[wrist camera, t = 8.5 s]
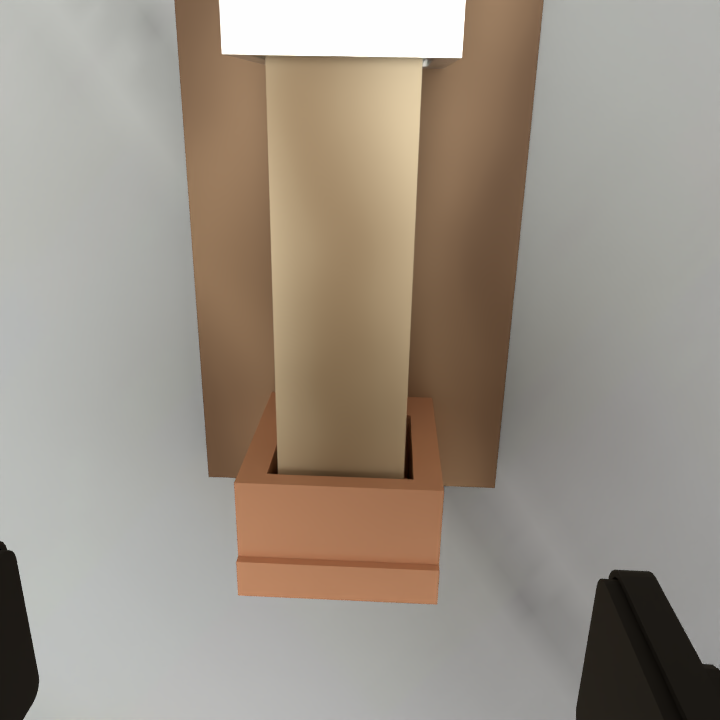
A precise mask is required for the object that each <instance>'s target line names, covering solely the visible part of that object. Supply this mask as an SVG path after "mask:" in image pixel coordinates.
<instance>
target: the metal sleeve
mask: <svg viewBox="0 0 720 720" xmlns="http://www.w3.org/2000/svg"><path fill="white" fill-rule="evenodd" d="M219 7H220V26H221V46H222V54H224V55H228V56H232V57H236V58H240V59H243V60H247V61H251V62H255V63H259V64H263V65H265V56H293V57H358V58H422V59H423V63H422V69H444V68H445V67H447V66H449V65H450V64H452V63H454V62H455V61H457V60H459V59H460V58H462V46H463V30H464V15H465V0H219Z"/></svg>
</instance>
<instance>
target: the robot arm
mask: <svg viewBox="0 0 720 720" xmlns="http://www.w3.org/2000/svg"><path fill="white" fill-rule="evenodd" d="M38 687H39V675H38V670H37V664H36V659H35V654H34V649H33V643H32V638H31V633H30V628H29V622H28V617H27V612H26V607H25V602H24V596H23V591H22V586H21V581H20V575H19V570H18V565H17V560H16V556H15V554H14V552H13V551H10V550H7V548H6V545H5V544H4V543H3V542H1V541H0V720H23V719H24V717H25V715H26V714H27V712H28V710H29V709H30V707H31V705H32V704H33V702H34V700H35V698H36V695H37V691H38ZM576 720H720V670H719V669H718V668H716V667H715V666H713V665H709V664H702V662H701V660H700V659H699V657H698V655H697V653H696V651H695V649H694V648H693V646H692V644H691V642H690V640H689V638H688V636H687V635H686V633H685V631H684V629H683V627H682V625H681V624H680V622H679V620H678V618H677V616H676V614H675V612H674V611H673V609H672V607H671V605H670V603H669V601H668V600H667V598H666V596H665V594H664V592H663V590H662V588H661V587H660V585H659V583H658V581H657V579H656V577H655V576H654V575H653V573H651V572H649V571H629V570H613V571H612V572H611V573H610V575H609V579H600V580H599V581H598V584H597V588H596V594H595V600H594V606H593V612H592V618H591V624H590V630H589V636H588V642H587V647H586V653H585V659H584V665H583V671H582V677H581V683H580V689H579V695H578V701H577V707H576Z"/></svg>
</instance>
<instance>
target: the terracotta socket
mask: <svg viewBox="0 0 720 720" xmlns="http://www.w3.org/2000/svg"><path fill="white" fill-rule="evenodd" d="M234 489H235V506H236V524H237V541H238V559H237V562H236V565H237V582H238V595H242V596H264V597H286V598H308V599H330V600H352V601H374V602H396V603H418V604H437V598H438V584H439V556H440V541H441V527H442V513H443V499H444V487H443V479H442V471H441V463H440V455H439V447H438V439H437V431H436V423H435V415H434V407H433V399H432V398H426V397H407V417H406V439H405V461H404V479H386V478H360V477H334V476H309V475H283V474H278V459H277V426H276V393H275V392H272V393H271V395H270V398H269V400H268V403H267V405H266V408H265V410H264V412H263V415H262V417H261V420H260V422H259V424H258V427H257V429H256V432H255V434H254V436H253V439H252V441H251V444H250V446H249V448H248V451H247V453H246V456H245V458H244V460H243V463H242V465H241V468H240V470H239V472H238V475H237V477H236V480H235V482H234Z"/></svg>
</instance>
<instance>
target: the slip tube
mask: <svg viewBox="0 0 720 720" xmlns="http://www.w3.org/2000/svg"><path fill="white" fill-rule="evenodd" d="M422 63H423V59H422V58H358V57H293V56H265V65H266V98H267V130H268V163H269V196H270V229H271V262H272V294H273V327H274V360H275V393H276V426H277V459H278V474H283V475H309V476H334V477H360V478H386V479H404V461H405V439H406V417H407V395H408V373H409V351H410V329H411V306H412V284H413V262H414V240H415V218H416V196H417V174H418V151H419V129H420V107H421V85H422Z"/></svg>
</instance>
